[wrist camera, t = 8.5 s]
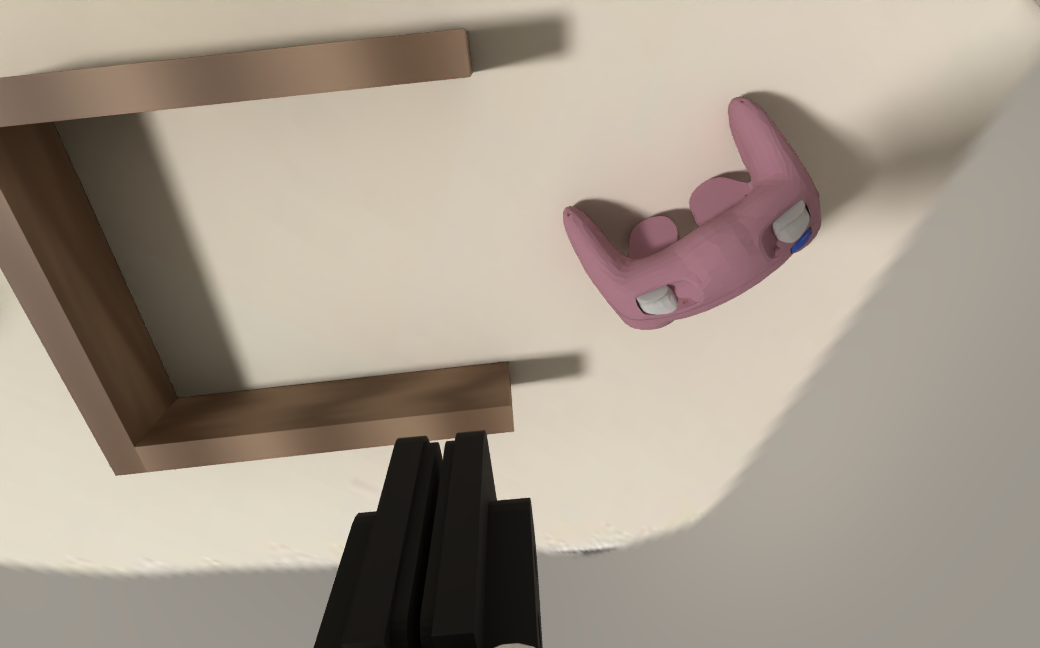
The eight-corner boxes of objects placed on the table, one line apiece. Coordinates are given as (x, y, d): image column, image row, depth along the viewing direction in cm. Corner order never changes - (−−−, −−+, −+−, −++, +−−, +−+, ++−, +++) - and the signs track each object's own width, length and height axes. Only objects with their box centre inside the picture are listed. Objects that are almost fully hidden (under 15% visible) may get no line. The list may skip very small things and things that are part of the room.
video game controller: (584, 262, 29) (643, 367, 24) (547, 208, 25) (607, 319, 21) (760, 153, 27) (858, 246, 22) (745, 78, 23) (858, 170, 19)
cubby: (467, 31, 22) (464, 28, 19) (510, 385, 30) (514, 431, 26) (-5, 81, 22) (-100, 88, 18) (160, 424, 30) (115, 475, 26)
